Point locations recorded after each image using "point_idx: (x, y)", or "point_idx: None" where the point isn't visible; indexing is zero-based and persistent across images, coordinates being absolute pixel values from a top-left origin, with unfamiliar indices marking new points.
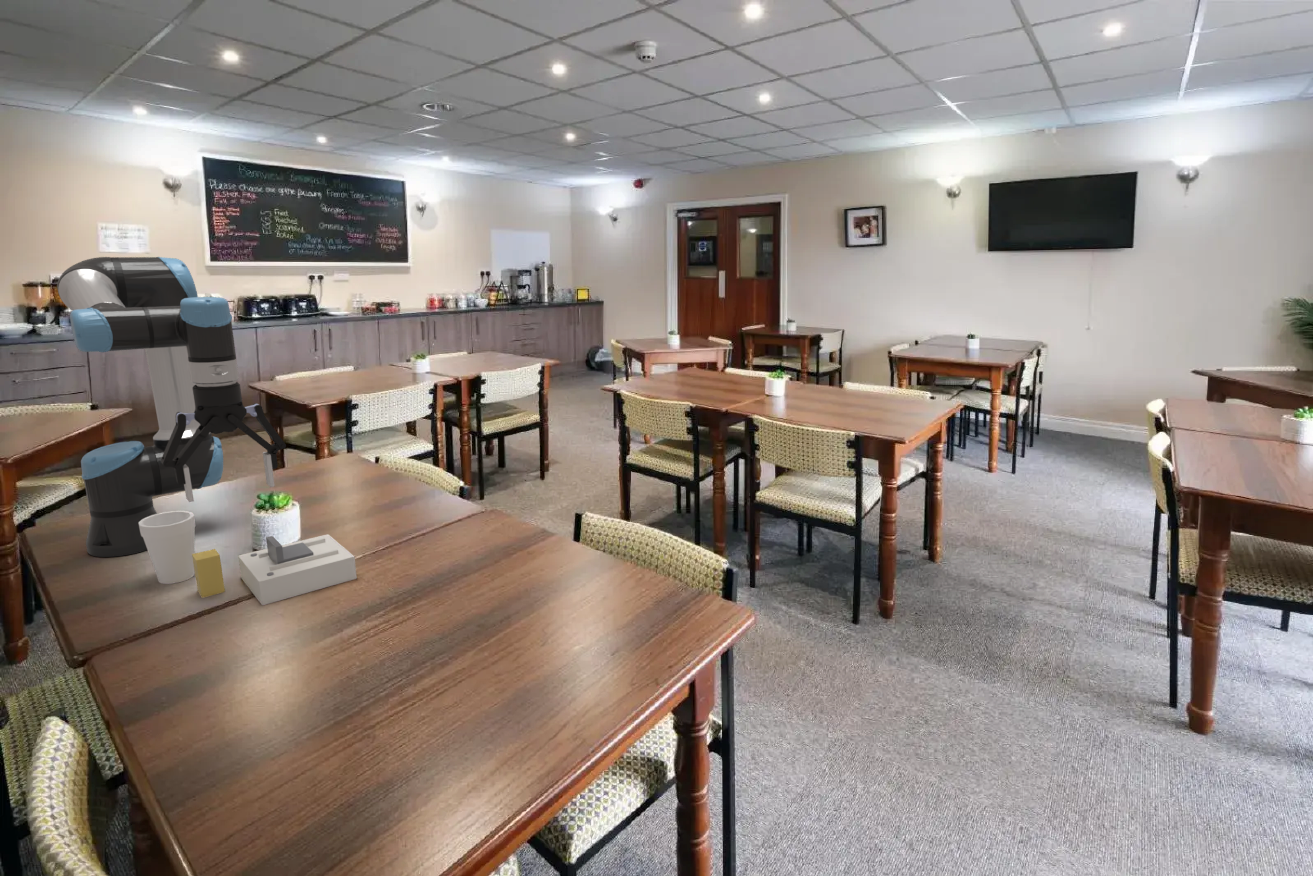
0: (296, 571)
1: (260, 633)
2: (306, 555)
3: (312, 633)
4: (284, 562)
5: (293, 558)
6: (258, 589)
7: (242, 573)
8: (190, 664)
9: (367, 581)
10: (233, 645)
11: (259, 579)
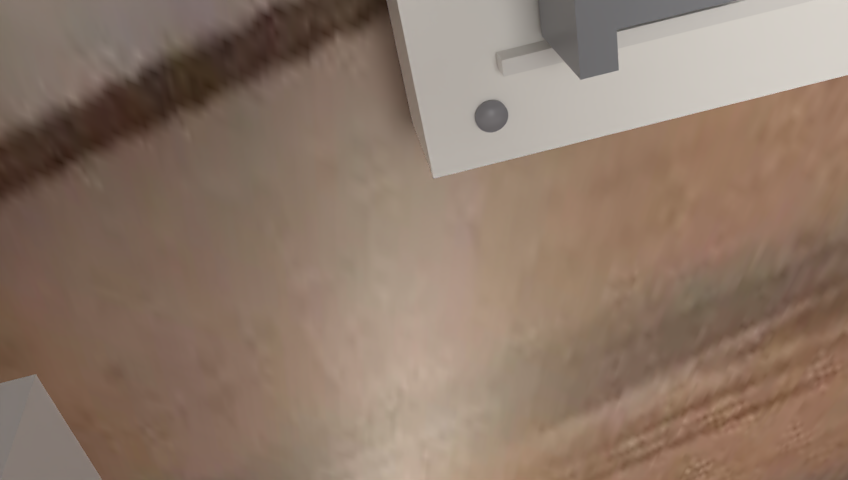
0: (606, 132)
1: (394, 333)
2: (703, 4)
3: (540, 382)
4: None
5: (633, 21)
6: (417, 122)
7: None
8: (196, 434)
9: None
10: (312, 375)
11: (437, 153)
